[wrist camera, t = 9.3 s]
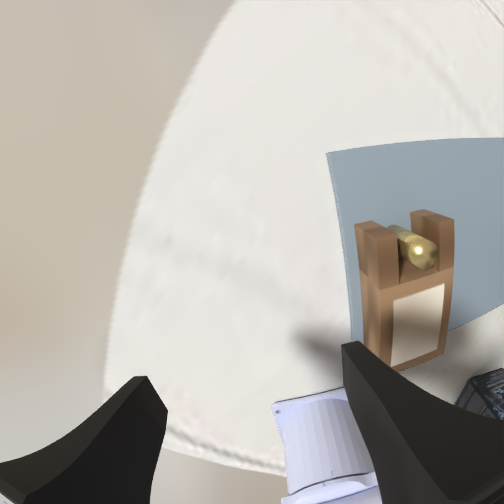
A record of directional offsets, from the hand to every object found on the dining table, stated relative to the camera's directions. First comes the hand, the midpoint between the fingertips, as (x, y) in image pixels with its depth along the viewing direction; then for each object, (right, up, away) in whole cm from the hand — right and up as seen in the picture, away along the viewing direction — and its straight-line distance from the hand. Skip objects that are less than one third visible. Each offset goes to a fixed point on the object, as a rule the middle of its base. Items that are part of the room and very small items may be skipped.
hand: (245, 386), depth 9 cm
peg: (+10, +6, +8) cm, 14 cm away
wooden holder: (+10, +2, +9) cm, 14 cm away
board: (+15, +5, +9) cm, 18 cm away
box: (+30, -13, +14) cm, 35 cm away
